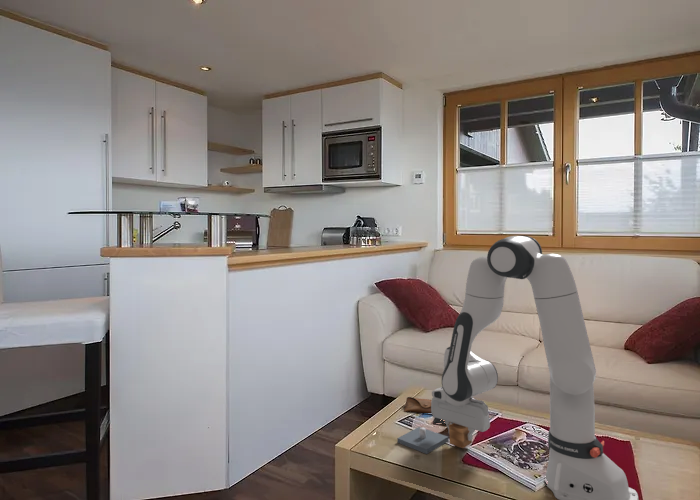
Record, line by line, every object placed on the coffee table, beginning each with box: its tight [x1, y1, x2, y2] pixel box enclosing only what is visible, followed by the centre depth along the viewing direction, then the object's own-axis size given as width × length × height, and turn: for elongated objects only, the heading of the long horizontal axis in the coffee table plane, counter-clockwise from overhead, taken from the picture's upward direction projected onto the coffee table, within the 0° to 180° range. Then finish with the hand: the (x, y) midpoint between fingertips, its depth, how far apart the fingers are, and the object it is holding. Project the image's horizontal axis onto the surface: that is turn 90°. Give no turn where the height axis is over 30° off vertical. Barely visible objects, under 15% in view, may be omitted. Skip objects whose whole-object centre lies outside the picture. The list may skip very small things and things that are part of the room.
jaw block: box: [448, 423, 473, 449], centre depth 153 cm, size 5×5×6 cm
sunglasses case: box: [403, 396, 432, 414], centre depth 185 cm, size 18×7×7 cm, turn 71°
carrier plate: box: [396, 426, 449, 455], centre depth 158 cm, size 12×12×4 cm
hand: (460, 436), depth 153 cm, fingers closed on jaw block, 5 cm apart
